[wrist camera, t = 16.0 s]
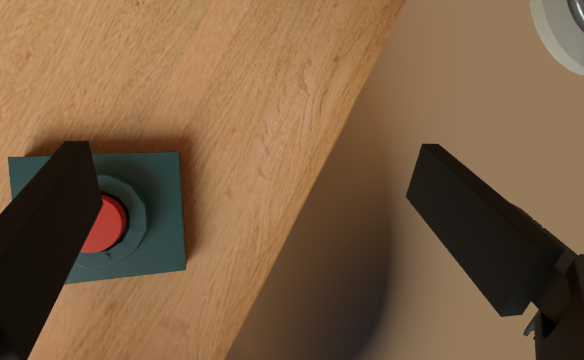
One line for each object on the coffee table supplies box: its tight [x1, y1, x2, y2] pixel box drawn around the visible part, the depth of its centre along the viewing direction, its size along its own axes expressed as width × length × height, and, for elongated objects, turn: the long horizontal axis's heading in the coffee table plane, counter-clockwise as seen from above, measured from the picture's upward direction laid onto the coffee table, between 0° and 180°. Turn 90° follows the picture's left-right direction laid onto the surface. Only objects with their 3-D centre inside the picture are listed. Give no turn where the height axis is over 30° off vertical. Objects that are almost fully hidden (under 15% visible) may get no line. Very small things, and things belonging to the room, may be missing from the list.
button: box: [80, 195, 127, 253], centre depth 25 cm, size 4×4×2 cm
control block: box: [8, 152, 187, 284], centre depth 27 cm, size 12×10×4 cm
